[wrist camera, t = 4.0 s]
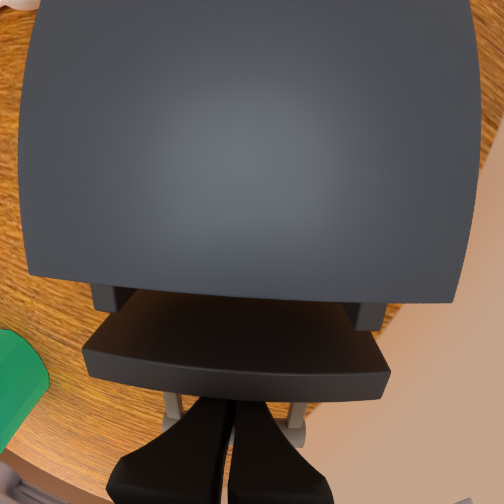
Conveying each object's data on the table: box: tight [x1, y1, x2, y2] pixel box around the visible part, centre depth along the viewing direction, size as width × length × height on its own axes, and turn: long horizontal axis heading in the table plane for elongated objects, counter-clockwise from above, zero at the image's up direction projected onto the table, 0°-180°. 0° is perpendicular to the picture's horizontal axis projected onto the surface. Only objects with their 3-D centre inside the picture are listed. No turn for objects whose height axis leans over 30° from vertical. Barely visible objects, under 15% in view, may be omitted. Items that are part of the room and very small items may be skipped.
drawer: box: [82, 283, 391, 448], centre depth 9 cm, size 22×9×6 cm, turn 177°
